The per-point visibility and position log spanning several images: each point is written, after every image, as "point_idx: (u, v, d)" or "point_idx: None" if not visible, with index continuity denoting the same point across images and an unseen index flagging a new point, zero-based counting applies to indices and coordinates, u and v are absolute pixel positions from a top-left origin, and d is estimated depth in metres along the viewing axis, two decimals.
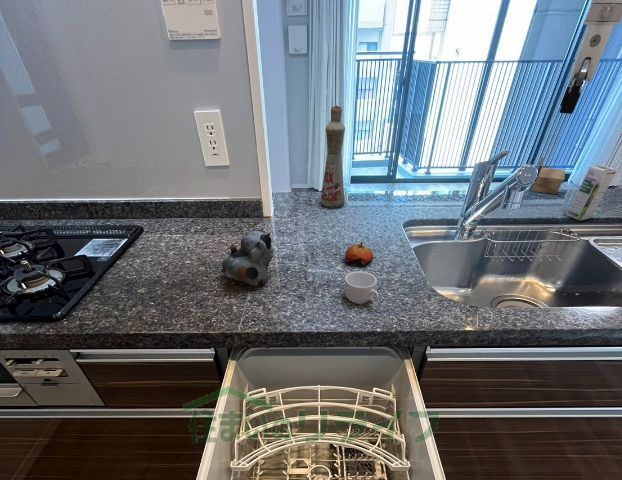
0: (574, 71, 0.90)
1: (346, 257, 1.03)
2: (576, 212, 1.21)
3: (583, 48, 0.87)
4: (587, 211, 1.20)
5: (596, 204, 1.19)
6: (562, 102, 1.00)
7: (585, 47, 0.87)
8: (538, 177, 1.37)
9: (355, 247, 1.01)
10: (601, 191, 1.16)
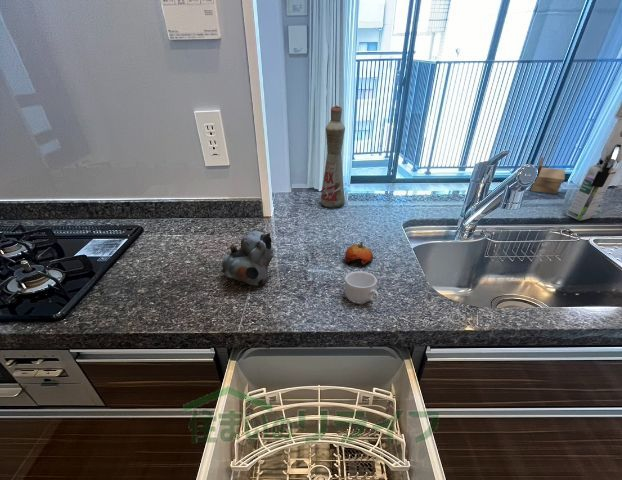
0: (606, 154, 1.07)
1: (346, 257, 1.03)
2: (576, 212, 1.21)
3: (614, 137, 1.05)
4: (587, 211, 1.20)
5: (596, 204, 1.19)
6: None
7: (616, 136, 1.04)
8: (538, 177, 1.37)
9: (355, 247, 1.01)
10: (601, 191, 1.16)
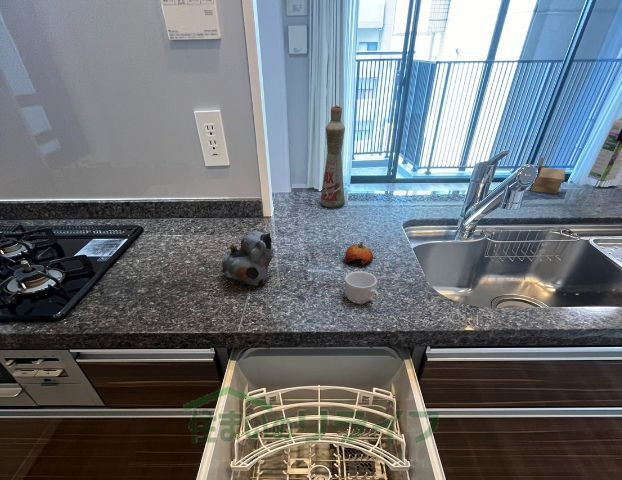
0: None
1: (346, 257, 1.03)
2: (599, 172, 1.13)
3: None
4: (611, 171, 1.11)
5: (621, 162, 1.10)
6: None
7: None
8: (538, 177, 1.37)
9: (355, 247, 1.01)
10: None
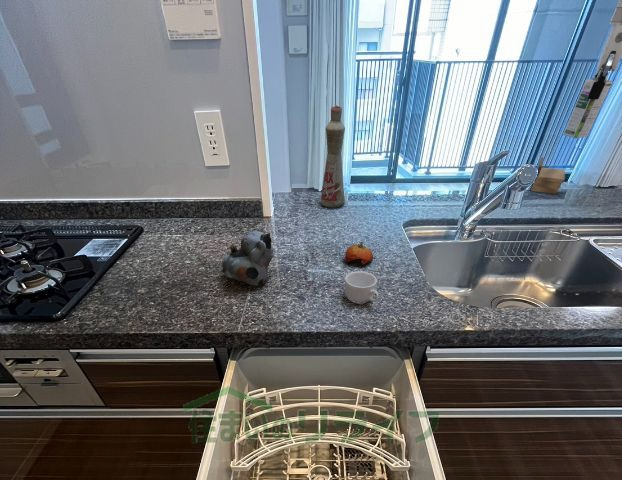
0: (601, 62, 1.10)
1: (346, 257, 1.03)
2: (573, 129, 1.24)
3: (609, 44, 1.07)
4: (583, 128, 1.22)
5: (592, 120, 1.21)
6: None
7: (611, 43, 1.07)
8: (538, 177, 1.37)
9: (355, 247, 1.01)
10: (596, 105, 1.18)
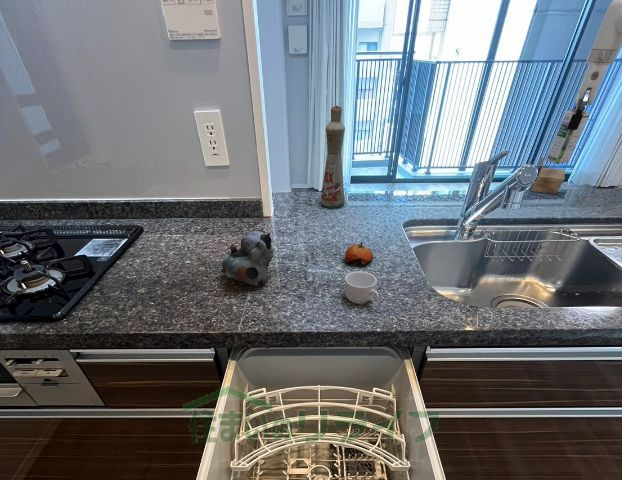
0: (579, 97, 1.19)
1: (346, 257, 1.03)
2: (554, 156, 1.33)
3: (586, 81, 1.17)
4: (564, 155, 1.32)
5: (572, 147, 1.31)
6: None
7: (587, 80, 1.16)
8: (538, 177, 1.37)
9: (355, 247, 1.01)
10: (576, 134, 1.28)
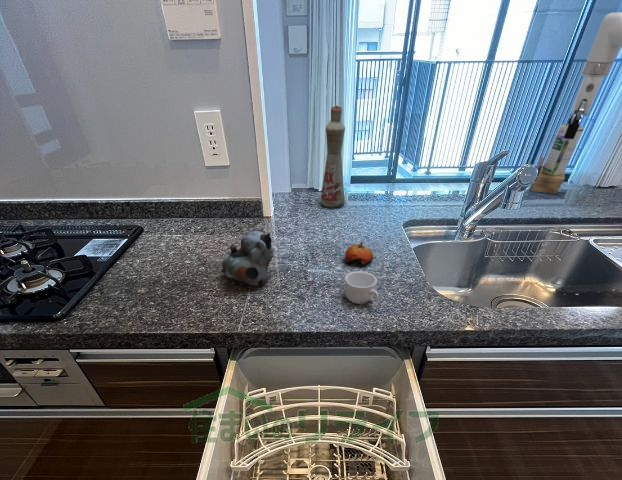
0: (574, 108, 1.21)
1: (346, 257, 1.03)
2: (550, 168, 1.36)
3: (581, 93, 1.19)
4: (559, 167, 1.35)
5: (567, 160, 1.34)
6: None
7: (583, 92, 1.18)
8: (538, 177, 1.37)
9: (355, 247, 1.01)
10: (570, 147, 1.31)
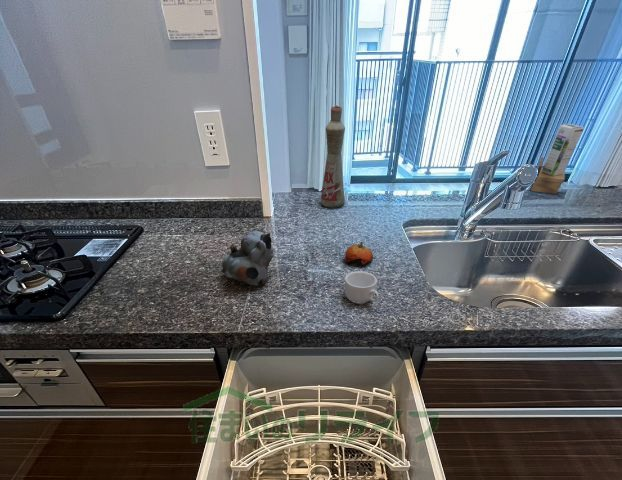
0: None
1: (346, 257, 1.03)
2: (550, 168, 1.36)
3: None
4: (559, 167, 1.35)
5: (567, 160, 1.34)
6: None
7: None
8: (538, 177, 1.37)
9: (355, 247, 1.01)
10: (570, 147, 1.31)
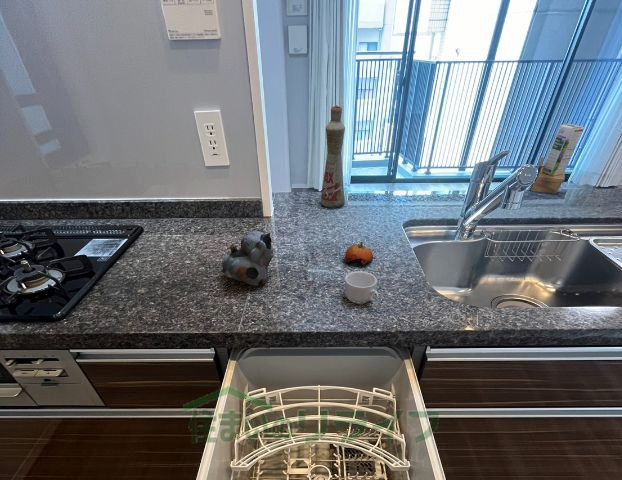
0: None
1: (346, 257, 1.03)
2: (550, 168, 1.36)
3: None
4: (559, 167, 1.35)
5: (567, 160, 1.34)
6: None
7: None
8: (538, 177, 1.37)
9: (355, 247, 1.01)
10: (570, 147, 1.31)
